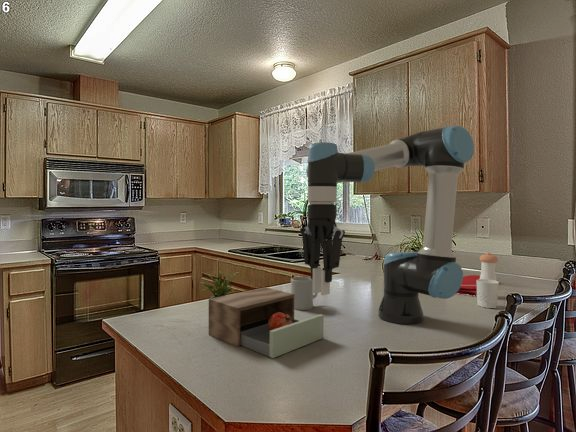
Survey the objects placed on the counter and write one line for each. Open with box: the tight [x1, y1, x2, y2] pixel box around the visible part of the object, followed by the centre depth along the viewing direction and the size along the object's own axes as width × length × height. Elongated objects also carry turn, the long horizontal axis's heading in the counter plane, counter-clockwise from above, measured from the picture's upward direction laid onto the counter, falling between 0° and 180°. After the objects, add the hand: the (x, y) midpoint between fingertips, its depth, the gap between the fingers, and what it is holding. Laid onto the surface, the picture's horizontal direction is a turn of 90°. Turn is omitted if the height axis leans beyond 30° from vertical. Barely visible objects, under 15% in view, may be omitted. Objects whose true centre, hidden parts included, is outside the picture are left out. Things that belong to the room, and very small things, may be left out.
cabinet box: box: [208, 286, 295, 347], centre depth 120 cm, size 14×23×11 cm, turn 136°
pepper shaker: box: [479, 252, 499, 281], centre depth 166 cm, size 7×7×19 cm
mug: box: [290, 276, 318, 311], centre depth 148 cm, size 12×8×11 cm
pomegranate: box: [267, 312, 293, 331], centre depth 111 cm, size 7×7×10 cm
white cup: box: [476, 279, 500, 309], centre depth 151 cm, size 8×8×10 cm
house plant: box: [199, 270, 239, 299], centre depth 137 cm, size 14×14×16 cm
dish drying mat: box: [456, 274, 480, 297], centre depth 187 cm, size 16×41×4 cm, turn 140°
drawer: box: [240, 313, 325, 359], centre depth 111 cm, size 15×21×7 cm
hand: (321, 293), depth 101 cm, fingers open, 2 cm apart
